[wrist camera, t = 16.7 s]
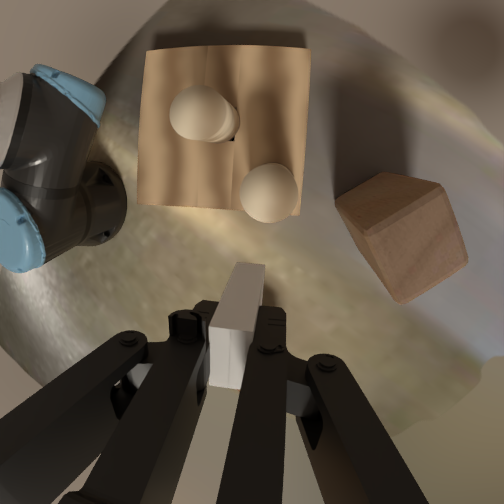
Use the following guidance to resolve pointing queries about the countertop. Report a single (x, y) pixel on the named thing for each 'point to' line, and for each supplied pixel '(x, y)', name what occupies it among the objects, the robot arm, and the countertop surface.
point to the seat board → (246, 139)
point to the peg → (204, 115)
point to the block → (404, 232)
